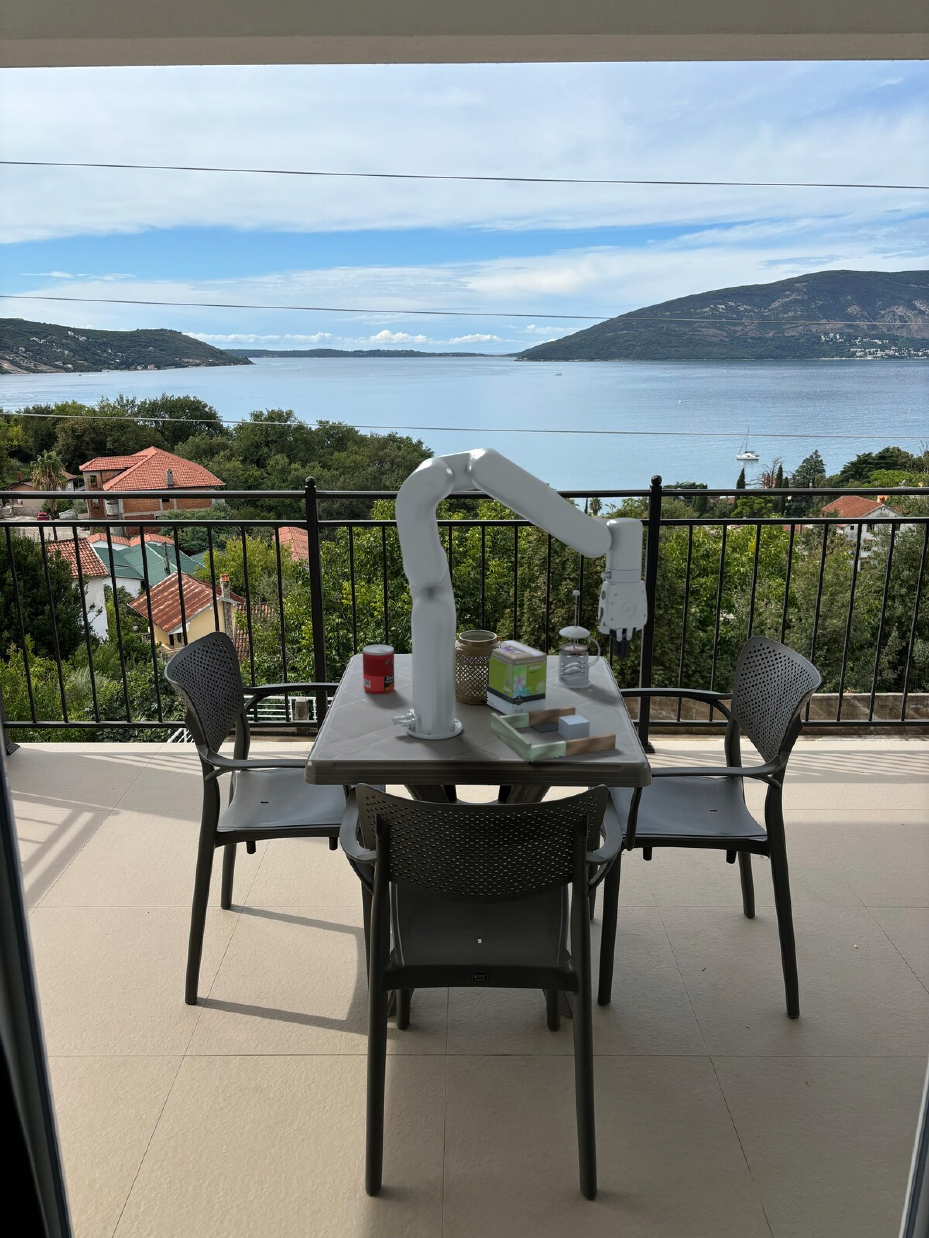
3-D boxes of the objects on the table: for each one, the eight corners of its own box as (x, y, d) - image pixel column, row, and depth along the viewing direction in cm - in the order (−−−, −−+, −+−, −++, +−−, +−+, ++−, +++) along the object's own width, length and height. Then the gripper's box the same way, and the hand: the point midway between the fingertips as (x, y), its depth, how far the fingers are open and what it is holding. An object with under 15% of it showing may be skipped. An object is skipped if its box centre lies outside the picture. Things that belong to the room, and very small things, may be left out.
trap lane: (526, 762, 180) (527, 744, 179) (490, 729, 197) (490, 713, 196) (615, 748, 187) (616, 730, 186) (573, 718, 204) (573, 702, 203)
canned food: (390, 695, 219) (390, 653, 216) (359, 693, 220) (358, 651, 217) (397, 685, 226) (397, 645, 224) (367, 684, 228) (367, 643, 225)
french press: (552, 676, 235) (556, 585, 228) (596, 677, 234) (600, 586, 228) (555, 688, 225) (558, 594, 219) (600, 689, 225) (604, 594, 218)
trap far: (539, 732, 195) (539, 731, 195) (530, 726, 199) (530, 725, 199) (563, 729, 197) (563, 728, 197) (554, 722, 202) (554, 721, 201)
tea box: (546, 712, 208) (548, 653, 204) (511, 719, 203) (512, 659, 200) (512, 694, 221) (514, 637, 217) (478, 700, 216) (479, 643, 212)
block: (568, 741, 191) (569, 724, 190) (558, 733, 195) (558, 717, 194) (588, 738, 193) (589, 721, 192) (578, 730, 197) (578, 714, 196)
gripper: (601, 581, 183) (599, 665, 187) (662, 575, 188) (658, 657, 193) (584, 575, 190) (582, 655, 194) (643, 569, 195) (640, 648, 199)
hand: (620, 656), depth 193 cm, fingers closed
